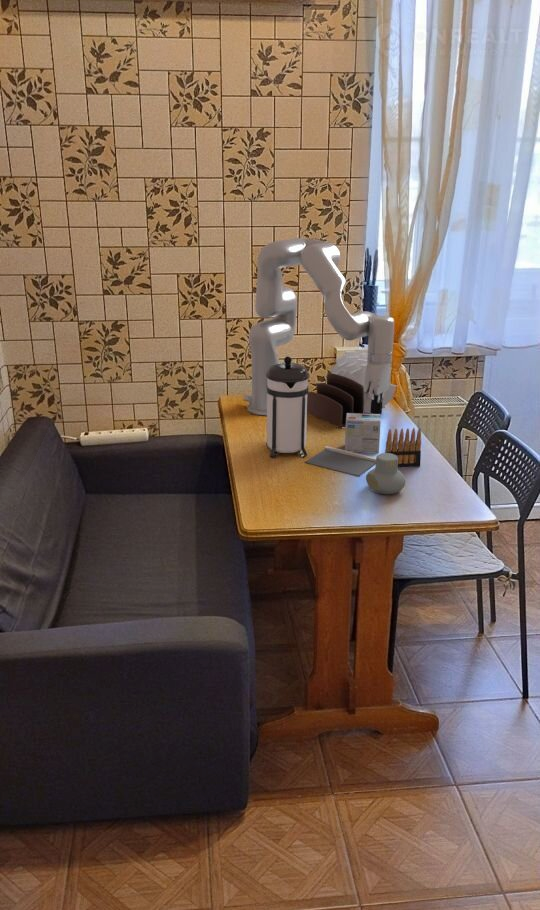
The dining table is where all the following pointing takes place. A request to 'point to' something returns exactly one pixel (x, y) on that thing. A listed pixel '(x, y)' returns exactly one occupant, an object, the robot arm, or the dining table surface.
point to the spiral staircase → (359, 374)
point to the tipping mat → (343, 461)
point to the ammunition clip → (405, 448)
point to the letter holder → (336, 399)
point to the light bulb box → (362, 432)
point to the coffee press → (286, 407)
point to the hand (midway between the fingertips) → (376, 413)
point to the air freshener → (386, 475)
